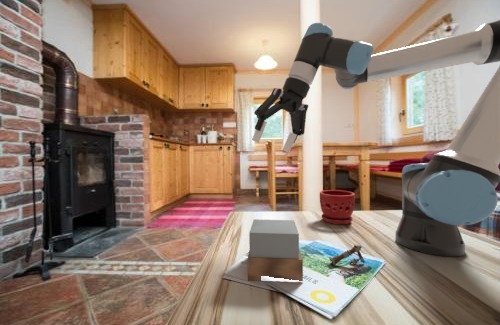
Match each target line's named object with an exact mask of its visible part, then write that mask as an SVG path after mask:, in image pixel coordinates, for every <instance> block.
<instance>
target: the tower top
mask: <svg viewBox="0 0 500 325" xmlns="http://www.w3.org/2000/svg"><path fill="white" fill-rule="evenodd" d="M248 237H249V240H248V241H249V244H248V245H249V250H250V257H265V258H289V259H299V251H300V238H299V237H300V234H299V232H298V228H297V225H296V222H295V220H293V219H291V220H290V219H253V221H252V224H251V226H250V229H249V235H248Z"/></svg>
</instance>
